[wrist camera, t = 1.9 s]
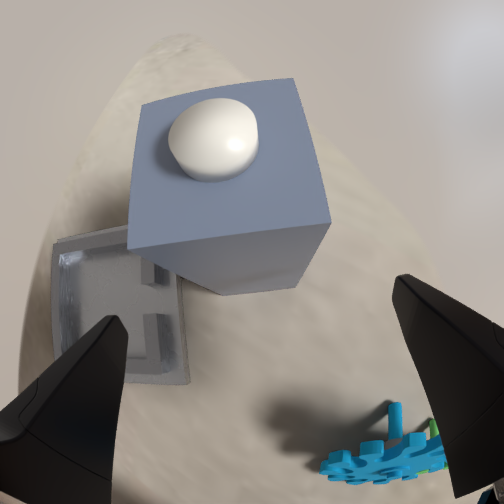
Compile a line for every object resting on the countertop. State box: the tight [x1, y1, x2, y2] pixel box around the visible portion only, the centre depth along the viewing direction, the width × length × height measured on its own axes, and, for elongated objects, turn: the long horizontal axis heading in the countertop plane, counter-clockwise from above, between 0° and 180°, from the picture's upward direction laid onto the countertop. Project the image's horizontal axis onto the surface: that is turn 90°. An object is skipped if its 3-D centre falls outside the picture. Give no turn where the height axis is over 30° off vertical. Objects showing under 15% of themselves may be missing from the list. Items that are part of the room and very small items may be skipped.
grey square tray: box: [51, 225, 191, 385], centre depth 18 cm, size 12×12×2 cm
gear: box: [319, 402, 448, 485], centre depth 13 cm, size 11×6×10 cm
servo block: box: [127, 78, 332, 296], centre depth 13 cm, size 5×5×14 cm
